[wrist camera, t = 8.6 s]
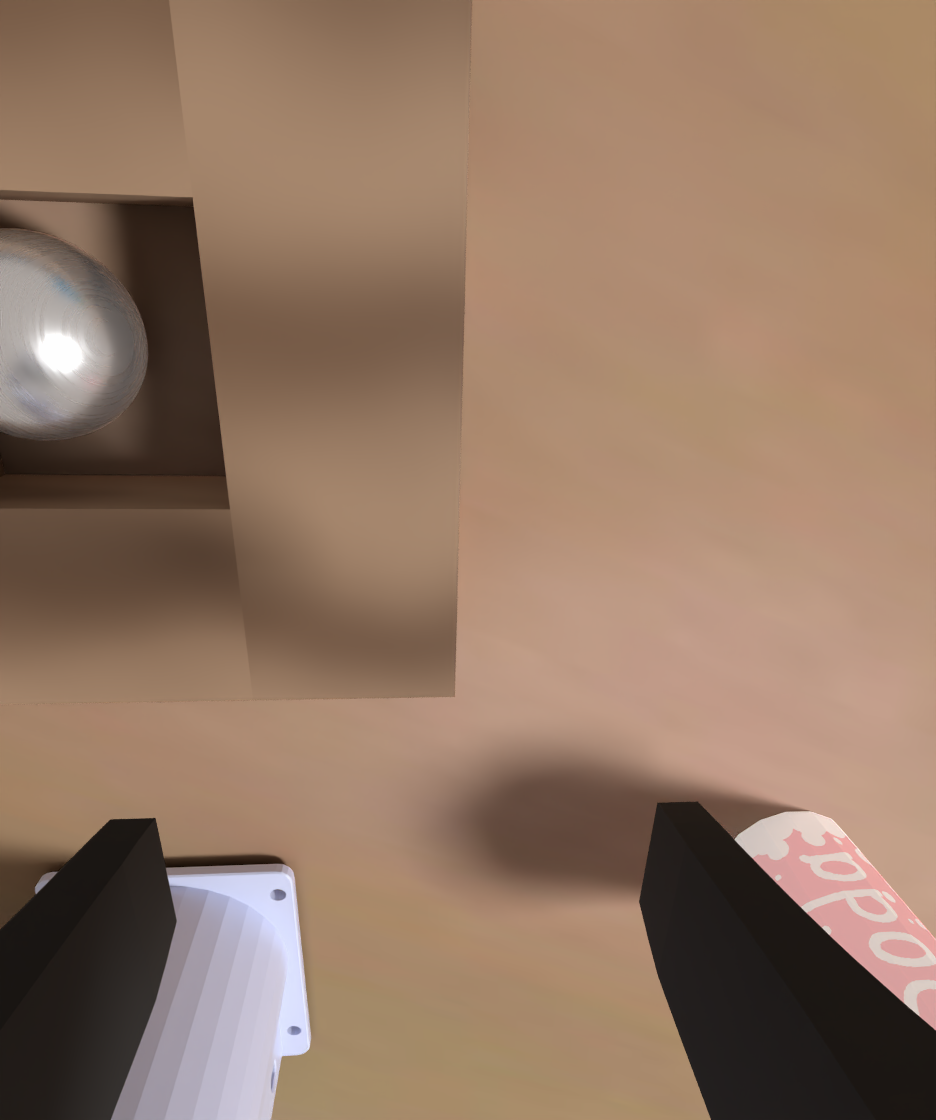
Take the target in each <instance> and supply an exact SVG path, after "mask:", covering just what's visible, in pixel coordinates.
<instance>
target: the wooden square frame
mask: <svg viewBox="0 0 936 1120" xmlns="http://www.w3.org/2000/svg"><path fill="white" fill-rule="evenodd" d="M471 26H472V0H0V199H4V200H31V201H58V202H85V203H112V204H139V205H166V206H193V207H194V213H195V221H196V230H197V238H198V246H199V254H200V263H201V271H202V279H203V288H204V296H205V304H206V313H207V321H208V329H209V338H210V346H211V354H212V363H213V371H214V379H215V388H216V396H217V404H218V412H219V421H220V429H221V437H222V446H223V454H224V462H225V471H226V476H149V475H10V474H5V472H4V468H3V465H2V461H1V457H0V705H20V704H76V703H132V702H189V701H245V700H301V699H358V698H414V697H455V666H456V626H457V586H458V546H459V506H460V466H461V426H462V386H463V346H464V306H465V266H466V226H467V186H468V146H469V106H470V66H471Z"/></svg>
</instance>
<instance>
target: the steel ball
mask: <svg viewBox="0 0 936 1120" xmlns="http://www.w3.org/2000/svg"><path fill="white" fill-rule="evenodd" d="M147 362H148V344H147V337H146V332H145V328H144V324H143V321H142V318H141V315H140V313H139V311H138V308H137V306H136V304H135V302H134V301H133V299H132V297H131V296H130V294H129V293H128V291H127V290H126V288H125V287H124V286H123V284H122V283H121V282H120V281H119V280H118V279H117V278H116V276H115V275H114V274H113V273H112V272H111V271H110V270H109V269H108V268H107V267H106V266H105V265H103V264H102V263H101V262H100V261H98V260H97V259H96V258H94V257H93V256H92V255H90V254H89V253H87V252H86V251H84V250H82V249H81V248H79V247H77V246H76V245H74V244H71V243H69V242H67V241H65V240H62V239H60V238H57V237H55V236H52V235H49V234H45V233H42V232H37V231H32V230H26V229H19V228H0V432H1V433H4V434H8V435H11V436H15V437H19V438H25V439H32V440H44V441H54V440H65V439H72V438H76V437H80V436H83V435H87V434H90V433H92V432H95V431H97V430H99V429H101V428H103V427H105V426H106V425H108V424H109V423H111V422H113V421H114V420H115V419H116V418H118V417H119V416H120V415H121V414H122V413H123V412H124V411H125V410H126V409H127V408H128V407H129V406H130V404H131V403H132V402H133V400H134V399H135V397H136V396H137V394H138V392H139V390H140V387H141V385H142V383H143V380H144V377H145V374H146V369H147Z"/></svg>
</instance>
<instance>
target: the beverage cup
mask: <svg viewBox="0 0 936 1120" xmlns="http://www.w3.org/2000/svg"><path fill="white" fill-rule="evenodd" d="M734 840H735V841H736V842H737V843H738V844H739V845H740V846H741V847H742V848H743V849H744V850H745V851H746V852H747V853H748V854H749V855H750V856H751V857H752V858H753V859H754V860H755V861H756V862H757V864H758V865H759V866H760V867H761V868H762V869H763V870H764V871H765V872H766V873H767V874H768V875H769V876H770V877H771V878H772V879H773V880H774V881H775V882H776V883H777V884H778V885H779V886H780V887H781V888H782V889H783V890H784V891H785V892H786V893H787V894H788V895H789V896H790V897H791V898H792V899H793V900H794V901H795V902H796V903H797V904H798V905H799V906H800V907H801V908H802V909H803V910H804V911H805V912H806V913H807V914H808V915H809V916H810V917H811V918H812V919H813V920H814V921H815V922H817V923H818V924H819V925H820V926H821V927H822V928H823V929H824V930H825V931H826V932H827V933H828V934H829V935H830V936H831V937H832V938H833V939H834V940H835V941H836V942H837V943H838V944H839V945H840V946H841V947H843V948H844V949H845V950H846V951H847V952H848V953H849V954H850V955H851V956H852V957H853V958H854V959H855V960H856V961H858V962H859V963H860V964H861V965H862V966H863V967H864V968H865V969H867V970H868V971H869V972H870V973H871V974H872V975H873V976H874V977H875V978H877V979H878V980H879V981H880V982H881V983H882V984H883V985H884V986H885V987H887V988H888V989H889V990H890V991H891V992H892V993H893V994H894V995H895V996H897V997H898V998H899V999H900V1000H901V1001H902V1002H903V1003H904V1004H906V1005H907V1006H908V1007H909V1008H910V1009H911V1010H913V1011H914V1012H915V1013H916V1014H917V1015H918V1016H920V1017H921V1018H922V1019H923V1020H924V1021H926V1022H927V1023H928V1024H929V1025H930V1026H931V1027H933V1028H934V1029H935V1030H936V939H935V938H934V937H933V935H932V934H931V933H930V932H929V931H928V930H927V928H926V927H925V926H924V925H923V924H922V923H921V921H920V920H919V919H918V918H917V917H916V916H915V914H914V913H913V912H912V911H911V910H910V909H909V907H908V906H907V905H906V904H905V903H904V902H903V900H902V899H901V898H900V897H899V896H898V895H897V893H896V892H895V891H894V890H893V889H892V887H891V886H890V885H889V884H888V883H887V882H886V880H885V879H884V878H883V877H882V876H881V875H880V873H879V872H878V871H877V870H876V869H875V868H874V866H873V865H872V864H871V863H870V862H869V861H868V859H867V858H866V857H865V856H864V855H863V854H862V852H861V851H860V850H859V849H858V848H857V847H856V845H855V844H854V843H853V842H852V841H851V840H850V838H849V837H848V836H847V835H846V834H845V833H844V832H843V830H842V829H841V828H840V827H839V826H838V825H837V824H836V823H835V822H834V821H833V820H832V819H831V818H829V817H826V816H823V815H820V814H817V813H814V812H811V811H801V812H784V813H780V814H777V815H774V816H771V817H768V818H765V819H762V820H759V821H758V822H756V823H755V824H753V825H752V826H750V827H749V828H747V829H746V830H744V831H743V832H741V833H740V834H738V836H737V837H736V838H735V839H734Z"/></svg>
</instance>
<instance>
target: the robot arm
mask: <svg viewBox="0 0 936 1120" xmlns="http://www.w3.org/2000/svg"><path fill="white" fill-rule="evenodd" d="M276 889H280V890H276ZM35 893H36V895H35V896H34V897H33V898H32V899H31V900H30V901H29V902H28V903H27V904H26V905H25V906H24V907H23V908H22V909H21V910H20V911H19V912H18V913H17V914H16V915H15V916H14V917H13V918H12V919H11V920H10V921H9V922H7V923H6V924H5V925H4V926H3V927H2V928H1V929H0V1120H271V1116H272V1110H273V1104H274V1098H275V1092H276V1086H277V1080H278V1075H279V1069H280V1063H281V1057H282V1056H289V1055H300V1054H303V1053H305V1052H306V1051H307V1050H308V1049H309V1047H310V1040H311V1033H310V1023H309V1013H308V1004H307V994H306V984H305V975H304V965H303V956H302V946H301V936H300V927H299V917H298V907H297V898H296V888H295V878H294V873H293V870H292V869H291V868H290V867H288V866H286V865H284V864H256V865H229V866H201V867H173V868H166V866H165V861H164V857H163V852H162V847H161V842H160V837H159V833H158V828H157V823H156V818H146V819H113V820H110V821H109V822H108V823H106V824H105V825H104V826H103V827H102V828H101V829H100V830H99V831H98V832H97V833H96V834H95V835H94V836H93V837H92V838H91V839H90V840H89V841H88V842H87V843H86V844H85V845H84V846H83V847H82V848H81V849H80V850H79V851H78V852H77V853H76V854H75V855H74V856H73V857H72V858H71V859H70V860H69V861H68V862H67V863H66V864H65V865H64V866H63V867H62V868H61V869H60V870H59V871H58V872H50V873H46V874H44V875H43V876H42V877H41V878H40V880H39V882H38V883H37V885H36V887H35ZM639 903H640V907H641V911H642V915H643V919H644V923H645V927H646V931H647V936H648V940H649V944H650V947H651V951H652V955H653V959H654V962H655V966H656V970H657V974H658V977H659V980H660V983H661V985H662V988H663V991H664V994H665V997H666V999H667V1002H668V1005H669V1007H670V1010H671V1013H672V1016H673V1018H674V1021H675V1024H676V1027H677V1029H678V1032H679V1035H680V1037H681V1040H682V1043H683V1046H684V1048H685V1051H686V1054H687V1056H688V1059H689V1062H690V1064H691V1067H692V1070H693V1072H694V1075H695V1078H696V1080H697V1083H698V1086H699V1088H700V1091H701V1094H702V1096H703V1099H704V1102H705V1104H706V1107H707V1110H708V1113H709V1115H710V1118H711V1120H936V1030H935V1029H934V1028H933V1027H931V1026H930V1025H929V1024H928V1023H927V1022H926V1021H924V1020H923V1019H922V1018H921V1017H920V1016H918V1015H917V1014H916V1013H915V1012H914V1011H913V1010H911V1009H910V1008H909V1007H908V1006H907V1005H906V1004H904V1003H903V1002H902V1001H901V1000H900V999H899V998H898V997H897V996H895V995H894V994H893V993H892V992H891V991H890V990H889V989H888V988H887V987H885V986H884V985H883V984H882V983H881V982H880V981H879V980H878V979H877V978H875V977H874V976H873V975H872V974H871V973H870V972H869V971H868V970H867V969H865V968H864V967H863V966H862V965H861V964H860V963H859V962H858V961H856V960H855V959H854V958H853V957H852V956H851V955H850V954H849V953H848V952H847V951H846V950H845V949H844V948H843V947H841V946H840V945H839V944H838V943H837V942H836V941H835V940H834V939H833V938H832V937H831V936H830V935H829V934H828V933H827V932H826V931H825V930H824V929H823V928H822V927H821V926H820V925H819V924H818V923H817V922H815V921H814V920H813V919H812V918H811V917H810V916H809V915H808V914H807V913H806V912H805V911H804V910H803V909H802V908H801V907H800V906H799V905H798V904H797V903H796V902H795V901H794V900H793V899H792V898H791V897H790V896H789V895H788V894H787V893H786V892H785V891H784V890H783V889H782V888H781V887H780V886H779V885H778V884H777V883H776V882H775V881H774V880H773V879H772V878H771V877H770V876H769V875H768V874H767V873H766V872H765V871H764V870H763V869H762V868H761V867H760V866H759V865H758V864H757V862H756V861H755V860H754V859H753V858H752V857H751V856H750V855H749V854H748V853H747V852H746V851H745V850H744V849H743V848H742V847H741V846H740V845H739V844H738V843H737V842H736V841H735V840H734V839H733V838H732V837H731V836H730V835H729V834H728V832H727V831H726V830H725V829H724V828H723V827H722V826H721V825H720V824H719V823H718V822H717V821H716V820H715V819H714V818H713V817H712V816H711V815H710V814H709V813H708V812H707V811H706V810H705V809H704V808H703V807H702V806H701V805H700V804H699V803H698V802H670V803H657V808H656V814H655V819H654V825H653V830H652V835H651V841H650V846H649V852H648V857H647V862H646V868H645V873H644V879H643V884H642V889H641V895H640V900H639Z"/></svg>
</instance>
